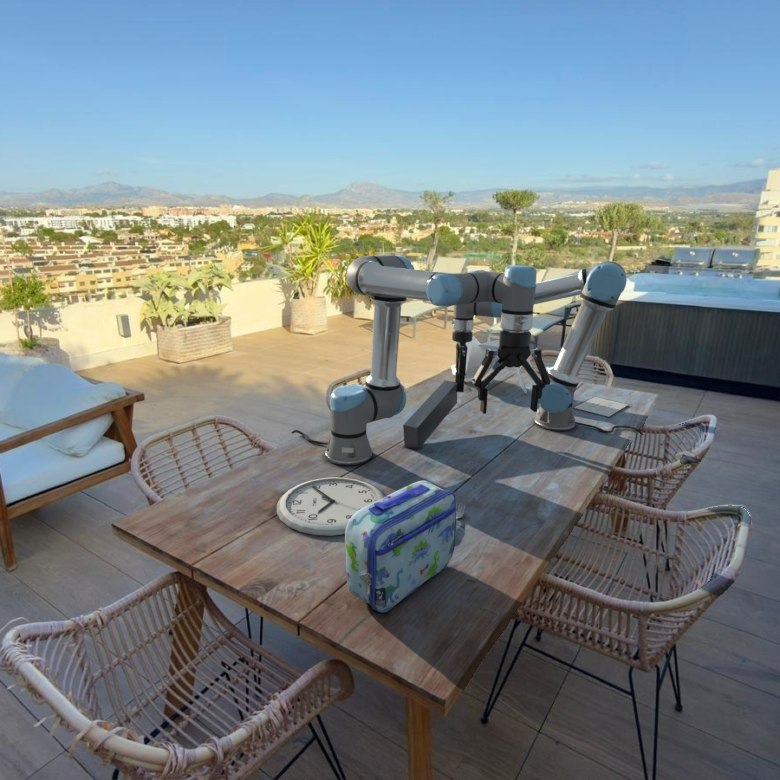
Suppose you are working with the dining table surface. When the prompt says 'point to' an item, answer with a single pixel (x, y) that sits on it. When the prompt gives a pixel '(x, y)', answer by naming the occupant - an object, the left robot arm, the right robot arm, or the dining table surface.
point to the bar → (430, 415)
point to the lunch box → (399, 543)
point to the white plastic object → (478, 354)
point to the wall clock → (325, 504)
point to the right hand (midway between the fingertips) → (459, 389)
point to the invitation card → (601, 406)
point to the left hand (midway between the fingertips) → (508, 411)
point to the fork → (459, 514)
